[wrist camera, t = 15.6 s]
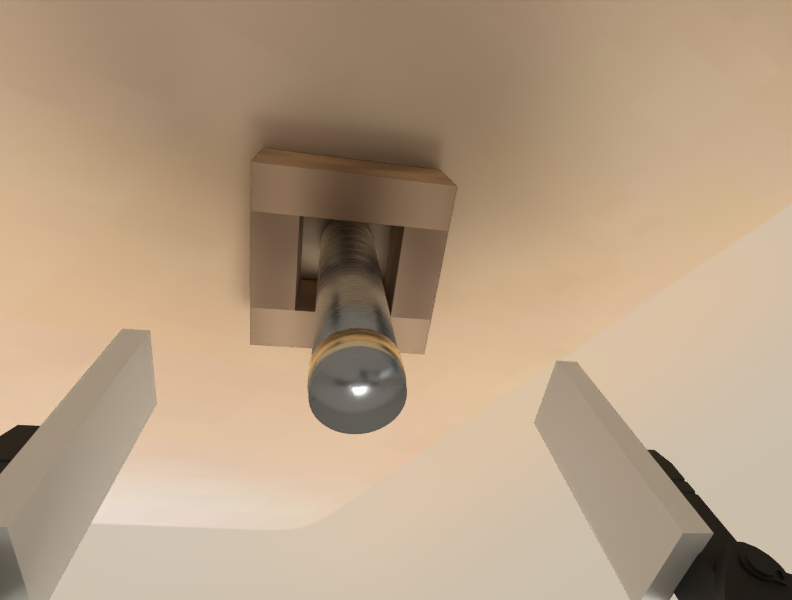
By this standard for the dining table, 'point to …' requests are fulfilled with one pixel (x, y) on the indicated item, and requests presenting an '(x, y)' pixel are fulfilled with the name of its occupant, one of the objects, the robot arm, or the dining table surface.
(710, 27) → the dining table surface
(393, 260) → the square wooden frame
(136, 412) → the robot arm
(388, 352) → the metal cylinder
